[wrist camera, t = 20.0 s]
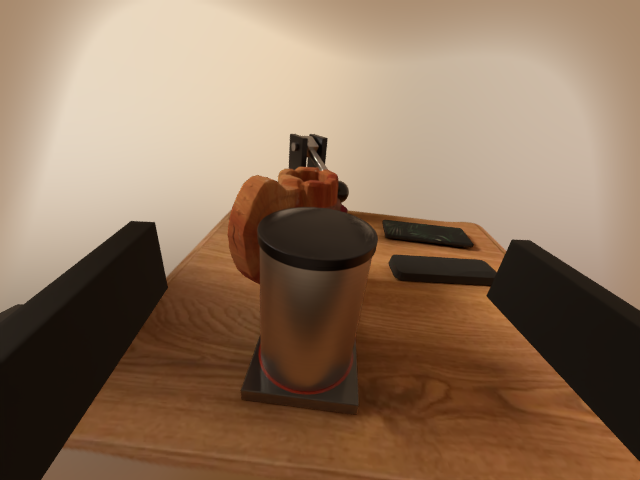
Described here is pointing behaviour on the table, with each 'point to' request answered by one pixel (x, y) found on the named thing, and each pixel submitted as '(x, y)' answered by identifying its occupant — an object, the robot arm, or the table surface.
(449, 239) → the smartphone
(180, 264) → the table surface
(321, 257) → the lidded metal tumbler
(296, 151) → the switch
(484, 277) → the remote control
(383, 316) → the table surface
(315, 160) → the lever
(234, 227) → the mug
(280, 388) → the hob
